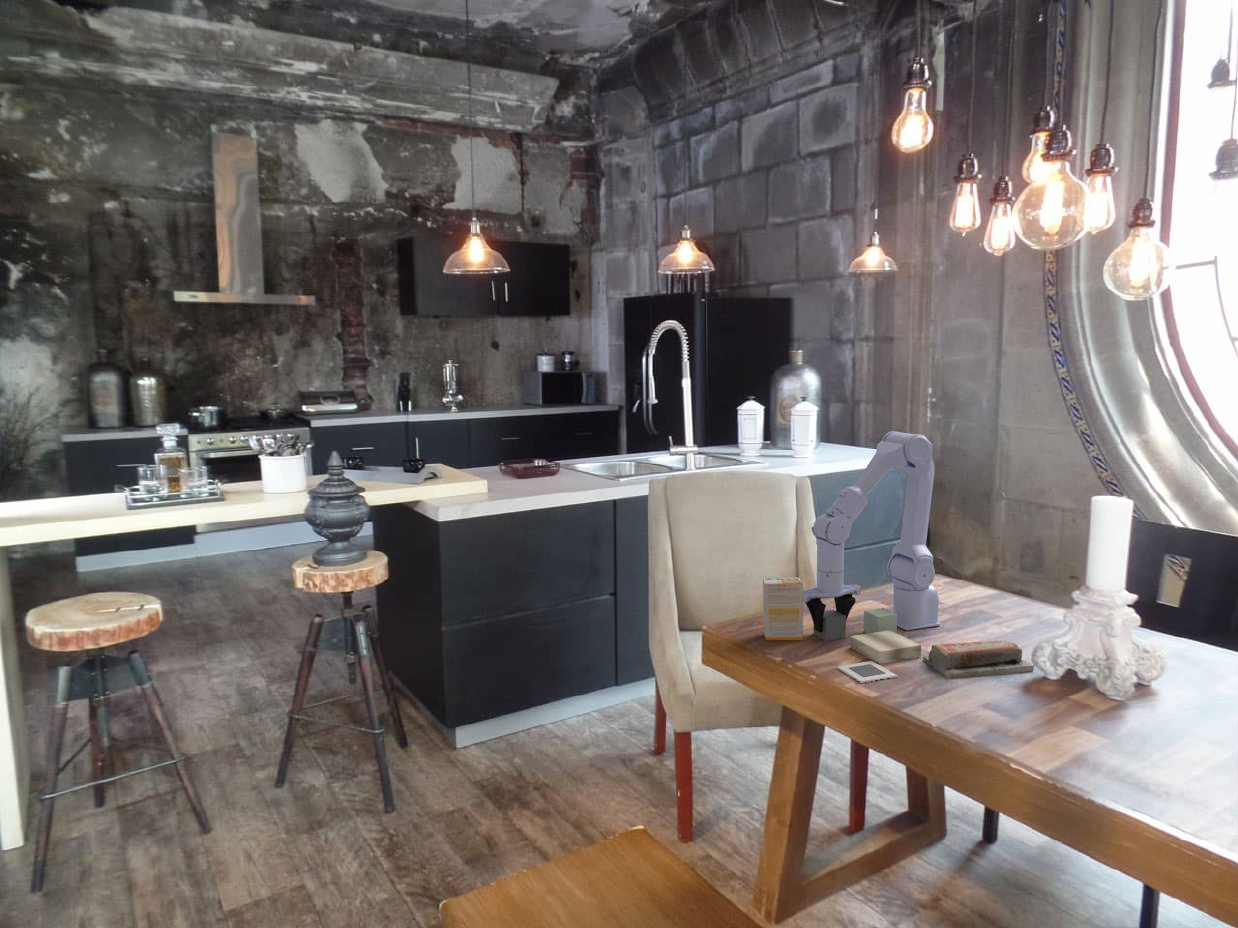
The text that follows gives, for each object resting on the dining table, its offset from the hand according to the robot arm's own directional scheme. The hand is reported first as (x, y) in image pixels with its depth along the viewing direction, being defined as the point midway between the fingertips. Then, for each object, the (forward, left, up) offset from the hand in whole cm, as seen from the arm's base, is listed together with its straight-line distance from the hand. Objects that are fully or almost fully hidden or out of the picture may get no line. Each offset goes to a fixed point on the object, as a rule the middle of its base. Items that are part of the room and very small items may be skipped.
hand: (829, 629), depth 184 cm
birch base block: (-5, +13, -2) cm, 14 cm away
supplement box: (+10, -3, -2) cm, 11 cm away
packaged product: (-17, +26, -2) cm, 31 cm away
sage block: (-11, +3, -2) cm, 12 cm away
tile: (+5, +21, -1) cm, 22 cm away
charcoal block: (0, 0, -1) cm, 1 cm away
